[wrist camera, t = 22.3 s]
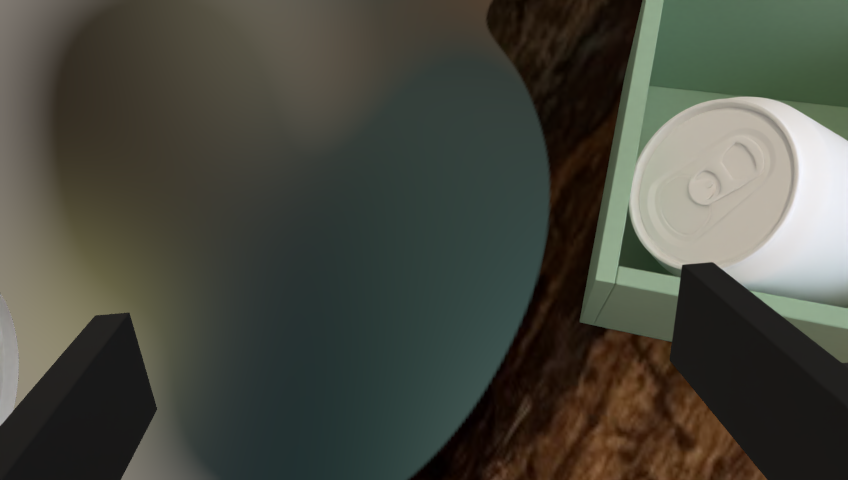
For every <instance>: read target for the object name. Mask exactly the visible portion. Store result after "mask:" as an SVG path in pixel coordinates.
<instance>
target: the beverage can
mask: <svg viewBox="0 0 848 480" xmlns="http://www.w3.org/2000/svg"><path fill="white" fill-rule="evenodd" d="M629 213H630V218H631V222H632V225H633V228H634V230H635V233H636V235H637V236H638V238H639V240H640V241H641V243H642V244H643V246H644V247H645V248H646V249H647V250H648V251H649V252H650V253H651V254H652V256H653V257H654V258H655V259H656V260H657V262H658V263H659V264H660V265H661V266H663V267H664V268H665V269H666V270H667V271H669V272H670V273H672V274H673V275H675V276H676V277H681V270H682V265H685V264H697V263H708V262H713V263H715V264H716V265H717V266H718V267H720V268H721V269H722V270H723V271H725V272H726V273H727V274H729V275H730V276H731V277H732V278H734V279H735V280H736V281H738V282H739V283H740V284H741V285H743V286H744V287H745V288H747V289H748V290H751V291H757V292H762V293H767V294H773V295H778V296H783V297H789V298H794V299H799V300H805V301H810V302H816V303H821V304H826V305H832V306H837V307H842V308H848V141H847V140H846V139H844V138H842V137H841V136H839V135H837V134H836V133H834V132H832V131H831V130H829V129H827V128H826V127H824V126H822V125H821V124H819V123H818V122H816V121H814V120H813V119H811V118H809V117H808V116H806V115H804V114H803V113H801V112H799V111H798V110H796V109H794V108H792V107H791V106H789V105H786V104H784V103H782V102H779V101H776V100H772V99H767V98H761V97H734V98H728V99H716V100H711V101H706V102H703V103H700V104H697V105H694V106H692V107H690V108H688V109H686V110H684V111H682V112H680V113H679V114H677V115H675V116H674V117H673V118H671V119H670V120H669V121H667V122H666V123H665V124H664V125H663V126H662V127H661V128H660V129H659V130H658V131H657V132H656V133H655V134H654V135H653V136H652V137H651V139H650V140H649V141H648V143H647V144H646V146H645V147H644V149H643V150H642V152H641V154H640V156H639V158H638V160H637V162H636V165H635V170H634V176H633V181H632V187H631V193H630V199H629Z"/></svg>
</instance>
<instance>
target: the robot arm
mask: <svg viewBox="0 0 848 480" xmlns="http://www.w3.org/2000/svg"><path fill="white" fill-rule="evenodd" d="M670 361H671V362H672V363H673V365H674V366H675V367H676V368H677V370H678V371H679V372H680V373H681V374H682V376H683V377H684V378H685V379H686V381H687V382H688V383H689V384H690V385H691V387H692V388H693V389H694V390H695V392H696V393H697V394H698V395H699V396H700V398H701V399H702V400H703V401H704V403H705V404H706V405H707V406H708V407H709V409H710V410H711V411H712V412H713V414H714V415H715V416H716V417H717V418H718V420H719V421H720V422H721V423H722V425H723V426H724V427H725V428H726V429H727V431H728V432H729V433H730V434H731V436H732V437H733V438H734V439H735V440H736V442H737V443H738V444H739V445H740V447H741V448H742V449H743V450H744V451H745V453H746V454H747V455H748V456H749V458H750V459H751V460H752V461H753V462H754V464H755V465H756V466H757V467H758V468H759V470H760V471H761V472H762V473H763V475H764V476H765V477H766V478H767V479H768V480H848V363H841V362H840V361H839V360H837V359H836V358H835V357H834V356H832V355H831V354H830V353H828V352H827V351H826V350H825V349H823V348H822V347H821V346H819V345H818V344H817V343H816V342H814V341H813V340H812V339H811V338H809V337H808V336H807V335H805V334H804V333H803V332H802V331H800V330H799V329H798V328H796V327H795V326H794V325H793V324H791V323H790V322H789V321H787V320H786V319H785V318H784V317H782V316H781V315H780V314H779V313H777V312H776V311H775V310H773V309H772V308H771V307H770V306H768V305H767V304H766V303H764V302H763V301H762V300H761V299H759V298H758V297H757V296H755V295H754V294H753V293H752V292H750V291H749V290H748V289H747V288H745V287H744V286H743V285H741V284H740V283H739V282H738V281H736V280H735V279H734V278H732V277H731V276H730V275H729V274H727V273H726V272H725V271H723V270H722V269H721V268H720V267H718V266H717V265H716V264H715V263H713V262H708V263H697V264H685V265H682V270H681V278H680V285H679V293H678V301H677V308H676V316H675V323H674V331H673V339H672V346H671V354H670ZM156 410H157V407H156V404H155V400H154V397H153V393H152V390H151V386H150V383H149V379H148V376H147V372H146V369H145V365H144V362H143V358H142V355H141V352H140V348H139V345H138V341H137V338H136V334H135V331H134V327H133V324H132V320H131V317H130V313H121V314H109V315H97V316H95V317H94V318H93V319H92V320H91V321H90V322H89V324H88V325H87V326H86V327H85V328H84V329H83V330H82V332H81V333H80V334H79V335H78V336H77V338H76V339H75V340H74V341H73V342H72V343H71V344H70V346H69V347H68V348H67V349H66V350H65V351H64V353H63V354H62V355H61V356H60V357H59V358H58V359H57V361H56V362H55V363H54V364H53V365H52V366H51V368H50V369H49V370H48V371H47V372H46V373H45V375H44V376H43V377H42V378H41V379H40V380H39V382H38V383H37V384H36V385H35V386H34V387H33V389H32V390H31V391H30V392H29V393H28V394H27V396H26V397H25V398H24V399H23V400H22V401H21V402H20V404H19V405H18V406H17V407H16V408H15V410H14V411H13V412H12V413H11V414H10V415H9V416H8V417H7V419H6V420H5V421H4V422H3V423H2V424H1V426H0V480H121V478H122V476H123V474H124V472H125V470H126V468H127V466H128V464H129V463H130V460H131V459H132V457H133V455H134V453H135V451H136V449H137V447H138V445H139V443H140V441H141V439H142V437H143V435H144V433H145V432H146V430H147V428H148V426H149V424H150V422H151V420H152V418H153V416H154V414H155V412H156Z"/></svg>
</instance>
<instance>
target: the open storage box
mask: <svg viewBox="0 0 848 480" xmlns="http://www.w3.org/2000/svg"><path fill="white" fill-rule="evenodd" d="M734 97H761V98H767V99H772V100H776V101H779V102H782V103H784V104H786V105H789V106H791V107H792V108H794V109H796V110H798V111H799V112H801V113H803V114H804V115H806V116H808V117H809V118H811V119H813V120H814V121H816V122H818V123H819V124H821V125H822V126H824V127H826V128H827V129H829V130H831V131H832V132H834V133H836V134H837V135H839V136H841V137H842V138H844V139H846V140H847V141H848V0H643V1H642V5H641V10H640V14H639V18H638V22H637V27H636V31H635V35H634V39H633V44H632V48H631V52H630V57H629V61H628V65H627V69H626V74H625V78H624V83H623V88H622V94H621V99H620V105H619V110H618V116H617V121H616V126H615V132H614V137H613V143H612V148H611V154H610V159H609V164H608V170H607V175H606V181H605V186H604V191H603V197H602V202H601V208H600V213H599V219H598V224H597V229H596V235H595V240H594V246H593V251H592V256H591V262H590V267H589V273H588V278H587V284H586V289H585V294H584V300H583V305H582V311H581V316H580V322H581V323H586V324H590V325H595V326H600V327H604V328H609V329H614V330H618V331H623V332H628V333H633V334H637V335H642V336H647V337H651V338H656V339H661V340H665V341H670V342H672V339H673V331H674V323H675V316H676V308H677V301H678V293H679V285H680V278H681V277H676V276H675V275H673V274H672V273H670V272H669V271H667V270H666V269H665V268H664V267H663V266H661V265H660V264H659V263H658V262H657V260H656V259H655V258H654V257H653V256H652V254H651V253H650V252H649V251H648V250H647V249H646V248H645V247H644V246H643V244H642V243H641V241H640V240H639V238H638V236H637V235H636V233H635V230H634V228H633V225H632V222H631V218H630V213H629V199H630V193H631V187H632V181H633V176H634V170H635V165H636V162H637V160H638V158H639V156H640V154H641V152H642V150H643V149H644V147H645V146H646V144H647V143H648V141H649V140H650V139H651V137H652V136H653V135H654V134H655V133H656V132H657V131H658V130H659V129H660V128H661V127H662V126H663V125H664V124H665V123H666V122H667V121H669V120H670V119H671V118H673V117H674V116H675V115H677V114H679V113H680V112H682V111H684V110H686V109H688V108H690V107H692V106H694V105H697V104H700V103H703V102H706V101H711V100H716V99H728V98H734ZM749 291H750V292H752V293H753V294H754V295H755V296H757V297H758V298H759V299H761V300H762V301H763V302H764V303H766V304H767V305H768V306H770V307H771V308H772V309H773V310H775V311H776V312H777V313H779V314H780V315H781V316H782V317H784V318H785V319H786V320H787V321H789V322H790V323H791V324H793V325H794V326H795V327H796V328H798V329H799V330H800V331H802V332H803V333H804V334H805V335H807V336H808V337H809V338H811V339H812V340H813V341H814V342H816V343H817V344H818V345H819V346H821V347H822V348H823V349H825V350H826V351H827V352H828V353H830V354H831V355H832V356H834V357H835V358H836V359H837V360H839V361H840V362H841V363H848V308H842V307H837V306H832V305H826V304H821V303H816V302H810V301H805V300H799V299H794V298H789V297H783V296H778V295H773V294H767V293H762V292H757V291H751V290H749Z"/></svg>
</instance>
